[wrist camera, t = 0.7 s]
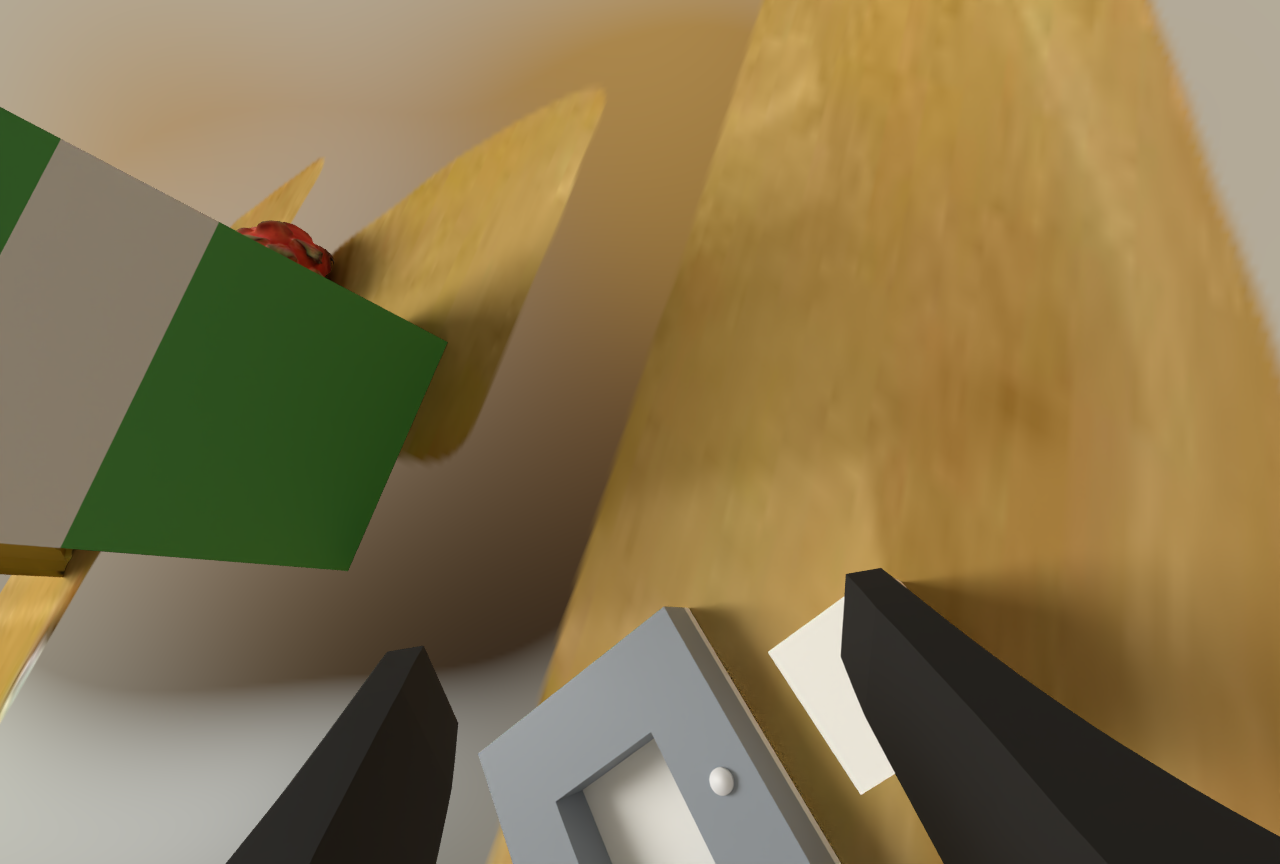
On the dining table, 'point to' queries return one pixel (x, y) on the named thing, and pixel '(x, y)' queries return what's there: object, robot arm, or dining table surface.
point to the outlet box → (649, 765)
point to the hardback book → (183, 376)
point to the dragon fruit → (291, 244)
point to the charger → (832, 696)
